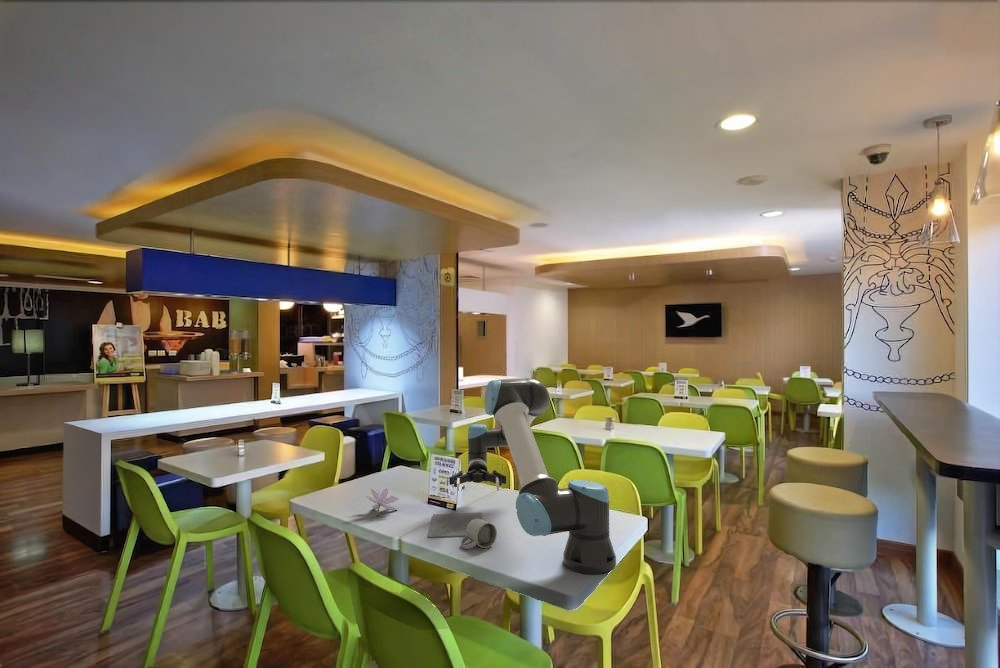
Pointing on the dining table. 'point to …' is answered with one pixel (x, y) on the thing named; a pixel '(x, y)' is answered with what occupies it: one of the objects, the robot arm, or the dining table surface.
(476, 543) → the ceramic mug
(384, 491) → the water lily
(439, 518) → the placemat
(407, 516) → the dining table surface
